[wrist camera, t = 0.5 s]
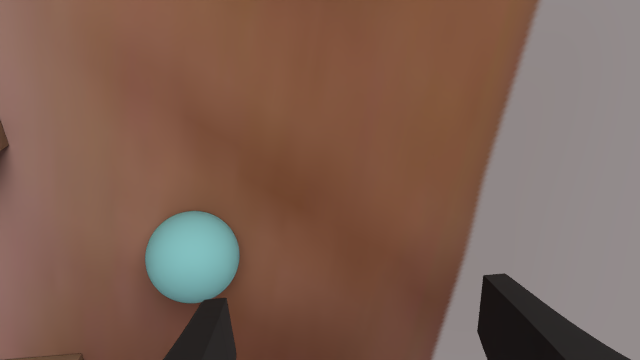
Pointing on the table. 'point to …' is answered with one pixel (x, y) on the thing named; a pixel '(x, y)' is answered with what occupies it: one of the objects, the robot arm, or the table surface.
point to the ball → (192, 257)
